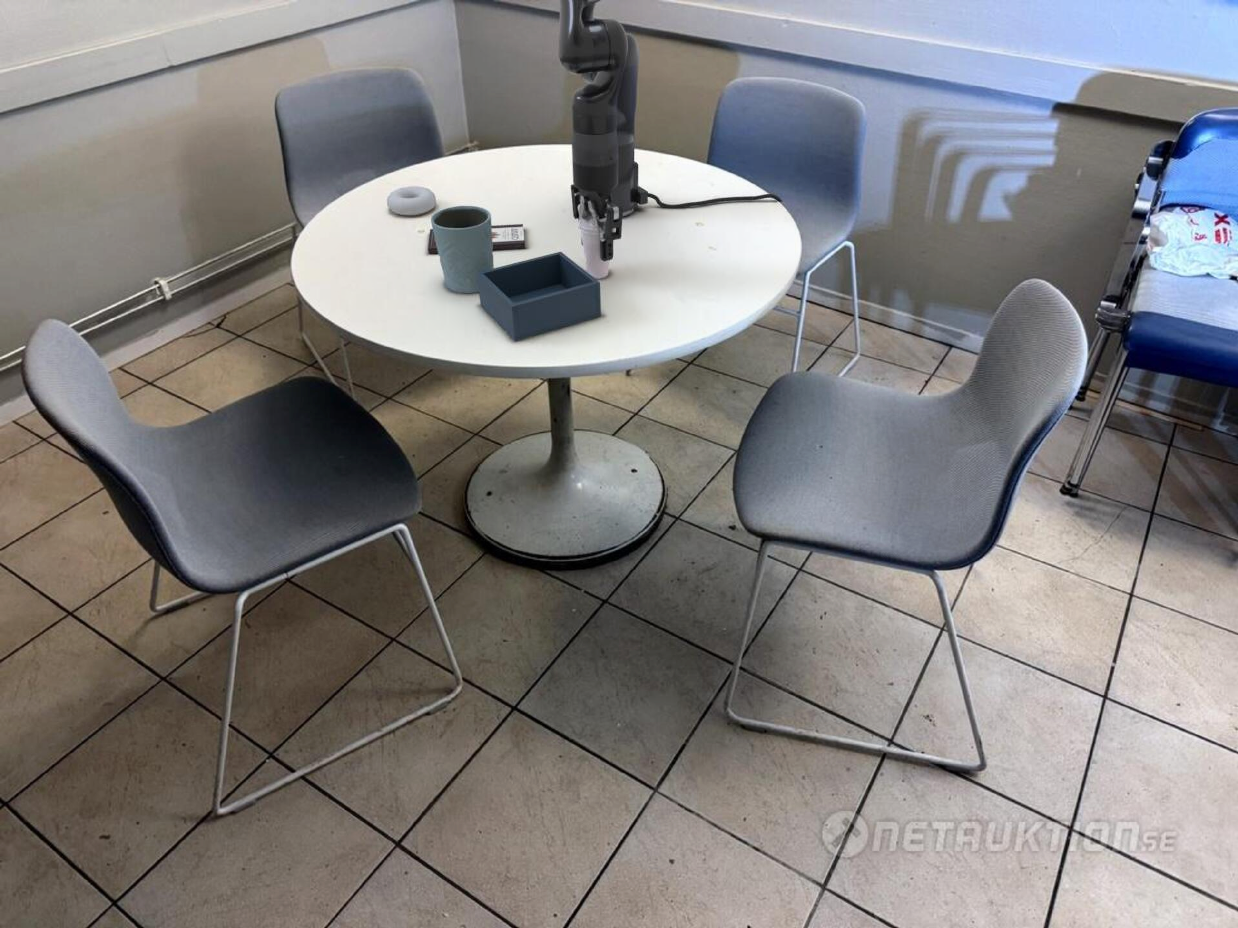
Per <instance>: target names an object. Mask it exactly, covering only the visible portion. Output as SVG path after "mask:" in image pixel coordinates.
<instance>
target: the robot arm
mask: <svg viewBox="0 0 1238 928" xmlns="http://www.w3.org/2000/svg"><path fill="white" fill-rule="evenodd" d="M600 1H601V0H559V21H558V22H559V24H558V35H557V54H558V58H559V61H560V63H561V65H562V67H563V68H564V70H566V71H567V72H568V73H569V74H572V75H579V76H580V78H581V80H582V81H583V82H584V83H585V84H586V85H584V86H582V87H580V88H578V89H576V90H575V91H574V92H573V94H572V96H571V117H572V118H571V119H572V121H571V122H572V136H571V157H572V158H571V159H572V161H571V162H572V163H571V164H572V184H571V185H570V194H571V195H570V197H571V204H572V205H571V206H572V215H573V219H574V220H577V222H578V224H579V221H580V220H581V219H582V218H583V219H585V218H586V217H589V216H592V218H593V222H594V226H595V228H597V229H598V231H599V235H600V239H601V240H600V258H601V260H603V261H608V260H613V259H614V241H616V240H620V239H622V233H623V232H622V230H623V217H627V216H629V215H631V214H633V212H635V211H637V210H639V205H640V206H642V205H646V204H648V203H649V202H648V201H649V198H651V199H653V200H654V201H655V202H656V204H657V205H658V206H659V207H662V208H665V209H683V208H689V207H699V206H705V205H711V204H716V203H723V202H739V201H741V202H742V201H743V202H745V201H758V200H763V199H773V200H775V201H776V202H778V203H782V202H783V200H782V198H781V197H780V196H779V195H776V194H773V193H765V194H760V195H750V196H749V195H747V196H746V195H743V196H725V197H717V198H712V199H706V200H705V199H704V200H699V201H689V202H684V203H677V204H670V203H669V204H668V203H664V202H662V200H661V199H660V198H659V197H658V196H657V195H656V194H653V193H650V192H649V191H648V190H646V189H644V188H643V187H642V186H640V185H639V163H638V162H637V161H635V132H636V131H635V124H636V123H635V122H636V121H635V120H636V108H637V100H638V99H637V98H638V78H639V77H638V76H639V58H640V56H639V45H638V42H637V39H636V38H635V36H634V35H633V34H632V33H628V32H627V33H626V30H625V28H624V26H623V24H621V22H619V21H618V20H617V19H615V18H614V19H613V18H603V19H602V18H601V19H595V14H594V10H595V6H596V4H597V3H599V2H600ZM604 218H606V221H604V222H600V221H599V220H600V219H604ZM604 226H606V232H604V228H603V227H604ZM614 228H615V229H614ZM580 237H581V236H580ZM580 241H581V243H580V244H581V246H582V247H583V243H582V237H581V238H580Z"/></svg>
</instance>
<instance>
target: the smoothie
mask: <svg viewBox="0 0 1238 928" xmlns="http://www.w3.org/2000/svg"><path fill="white" fill-rule="evenodd" d="M599 221H600V222H604V221H606V218H604V219H600V220H599ZM577 228H578V230H579V231H580V237H582V243H583V246H582V248H583V254H584V261H585V266H586V267H585V268H586V272H587V273H589V274H590V275H591V276H592V277H594V278H595V279H596V280H598V279H605V278H606V277H607V276H609V269H610V263H611V262H610V260H608V261H603V260H601V258H600V240H601V239H600V235H599V231H598V229H597V228H595V226H594V222H593V218H592V216H589V217H586V218H585V219H583V218H582V219H581V220H580V221H579V223H578V227H577ZM603 228H604V232H606V226H604V227H603ZM614 230H616V228H614Z"/></svg>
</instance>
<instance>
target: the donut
mask: <svg viewBox="0 0 1238 928" xmlns="http://www.w3.org/2000/svg"><path fill="white" fill-rule="evenodd" d="M436 204H437V198H436V195H435V193H434V192H433V191H432V190H431V189H429V188H427V187H424V186H417V185H415V186H414V185H411V186H404V187H400V188H396V189H394V190H392V191H391V192H390V193H389V194H388V196H387V198H386V205H387V208H388V209H389V210H390V211H391V212H392V213H394V214H396V215H401V216H418V215H422V214H423V215H424V214H425V213H427V212H430V211H431V210H433V208H434V207H435V206H436Z"/></svg>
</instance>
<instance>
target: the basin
mask: <svg viewBox="0 0 1238 928" xmlns="http://www.w3.org/2000/svg"><path fill="white" fill-rule="evenodd" d="M477 279H478V287H479V292H478V294H479V295H478V296H479V302H480V303H479V304H480V307H481V308H482V309H483V310H484V311H485V312H486V313H487V314H488V315H489V316H490V317H491V318H492V319H493V321H495V322H496V324H498V325H499V326H500V327H501V328H502V329H503V331H505V333H506V334H508V336H509V337H510V338H511V339H512V340H513V341H514V342H519V341H521V340H524V339H527V338H528V339H529V338H531V337H535V336H537V335H541V334H545V333H548V332H551V331H555V330H558V329H562V328H566V327H568V326H573V325H575V324H579V323H583V322H586V321H589V320H593V319H596V318H599V317H602V300H601V282H600V280H598V279H596V278H594V277H592V276H591V275H590V274H589V273H587V270H585V269H584V268H583V267H581V266H580V265H579V264H577V263H576V262H575V261H573V260H572V259H571V258H570V257H568V256H567V254H565V253H564V252H563V251H558V252H554V253H549V254H545V255H542V256H537V257H533V258H529V259H525V260H521V261H518V262H513V263H510V264H509V263H508V264H505V265H501V266H498V267H494V268H493V269H489V270H485V271H481V272H478V273H477Z"/></svg>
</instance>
